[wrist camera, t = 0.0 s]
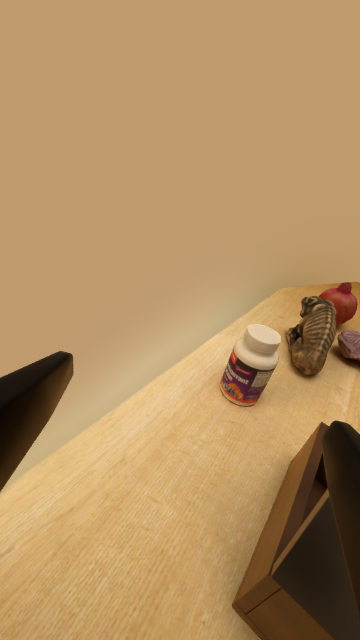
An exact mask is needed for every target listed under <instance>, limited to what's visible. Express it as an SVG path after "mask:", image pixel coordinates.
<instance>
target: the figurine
mask: <svg viewBox="0 0 360 640" xmlns="http://www.w3.org/2000/svg"><path fill="white" fill-rule="evenodd" d="M301 304H302V310H301V312H300V316H301V317H302V319H301V321H300V324H298V325H297V326H295V327H294V328H290V329H289V330H288V331H287V332H286V335H287V336H286V337H287V339H288V343H289V351H290V352H291V353H292V361H293V364H294V365H295V366H296V367H297V368H299V369H300V370H301V371H302V372H303V373H304V374H317V373H319V372H320V371H321V369H322V368H323V366H324V363H325V360H326V357H327V353H328V350H329V348H330V347H331V345H332V343H333V341H334V338H335V335H336V319H335V318H336V310H335V308H334V304H333V303H332V302H331V301H329V300H323V299H321V298H319V297H317V296H312V297H304V298H303V299H302V300H301Z"/></svg>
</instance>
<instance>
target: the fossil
mask: <svg viewBox="0 0 360 640" xmlns="http://www.w3.org/2000/svg"><path fill="white" fill-rule="evenodd" d="M338 344H339V347H340V350H341V353H342V355H343V357H346V358H350V359H355V360H357V361H360V333H359V332H357V331H343V332H341V334H340V335H338Z"/></svg>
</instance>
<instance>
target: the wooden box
mask: <svg viewBox="0 0 360 640" xmlns="http://www.w3.org/2000/svg"><path fill="white" fill-rule="evenodd" d="M328 427H329V426H328V425H326V424H324V423H323V422H321V423H320V424H319V426H318V427H317V428H316V430H315V431H314V432H313V434H312V435H311V436H310V438H309V439H308V440H307V442H306V443H305V444H304V446H303V447H302V448H301V450H300V451H299V452H298V454H297V455H296V456H295V458H294V459H293V460H292V461H291V463H290V466H289V468H288V471H287V473H286V476H285V478H284V480H283V483H282V485H281V488H280V490H279V493H278V495H277V497H276V500H275V502H274V505H273V507H272V509H271V512H270V514H269V517H268V519H267V522H266V524H265V526H264V529H263V531H262V534H261V536H260V539H259V541H258V543H257V546H256V548H255V551H254V553H253V555H252V558H251V560H250V563H249V565H248V568H247V570H246V572H245V575H244V577H243V580H242V582H241V585H240V587H239V589H238V592H237V594H236V597H235V599H234V602H233V604H232V607H233V608H234V609H235V611H236V612H237V613H238V614H239V615H240V616H241V617H242V618H243V620H244V621H245V622H246V623H247V624H248V625H249V626H250V627H251V629H252V630H253V631H254V632H255V633H256V634H257V635H258V636H259V638H260V639H261V640H334V639H333V638H332V637H331V636H330V635H329V634H328V633H327V632H326V631H325V630H324V629H323V628H322V627H321V626H320V625H319V624H318V623H316V622H315V621H314V620H313V619H312V618H311V617H310V616H309V615H308V614H307V613H306V612H305V611H304V610H303V609H302V608H301V607H300V606H299V605H298V604H297V603H296V602H295V601H294V600H293V599H292V598H291V597H290V596H289V595H288V594H287V593H286V592H285V591H284V590H283V589H282V588H281V587H280V586H279V585H278V584H277V583H276V582H275V581H274V580H273V579H272V578H271V574H272V569H273V565H274V563H275V562H276V561H277V559H278V558H279V556H280V555H281V554H282V552H283V551H284V549H285V548H286V547H287V545H288V544H289V542H290V541H291V540H292V538H293V537H294V535H295V534H296V533H297V531H298V530H299V528H300V527H301V526H302V524H303V523H304V521H305V520H306V518H307V517H308V516H309V514H310V513H311V511H312V510H313V509H314V507H315V506H316V504H317V503H318V502H319V500H320V499H321V497H322V496H323V495H324V493H325V492H326V490H327V489H328V486H327V480H326V473H325V466H324V459H323V452H322V445H321V438H322V435H323V433H324V432H325V431H326V430H327V428H328Z"/></svg>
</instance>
